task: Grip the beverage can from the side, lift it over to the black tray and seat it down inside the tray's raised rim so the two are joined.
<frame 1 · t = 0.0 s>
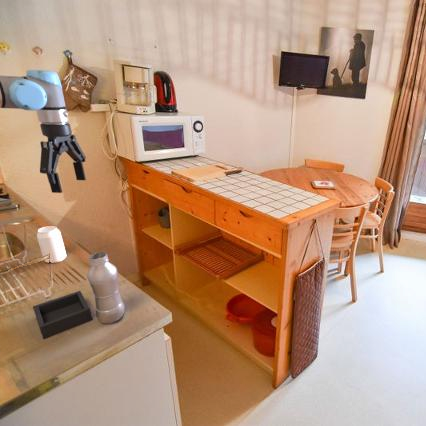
hand: (70, 185, 109), 25 cm above the countertop, tool pointing down, fingers open, 13 cm apart
plastic bottle: (112, 318, 88), on the countertop
beverage can: (56, 260, 111), on the countertop
black tray: (64, 318, 86), on the countertop
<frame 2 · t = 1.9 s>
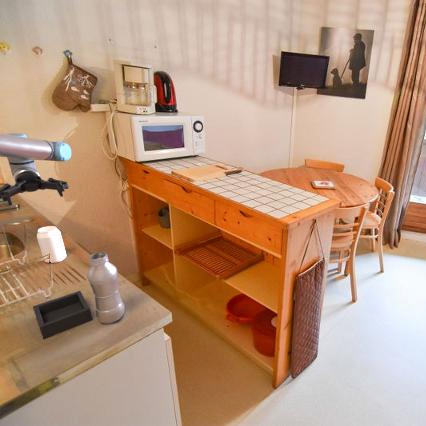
hand: (36, 197, 108), 21 cm above the countertop, tool horizontal, fingers open, 13 cm apart
nothing on the countertop moved.
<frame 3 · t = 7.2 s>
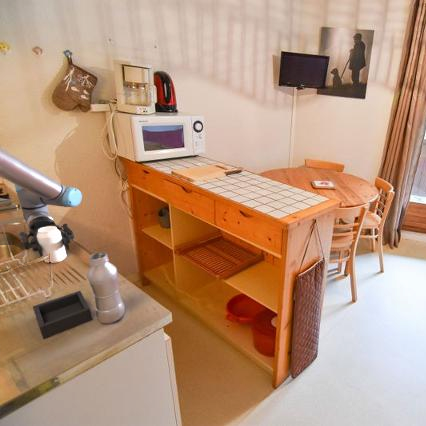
hand: (54, 249, 105), 7 cm above the countertop, tool horizontal, fingers closed on beverage can, 6 cm apart
beverage can: (56, 260, 111), on the countertop, touching gripper
everything else where it was.
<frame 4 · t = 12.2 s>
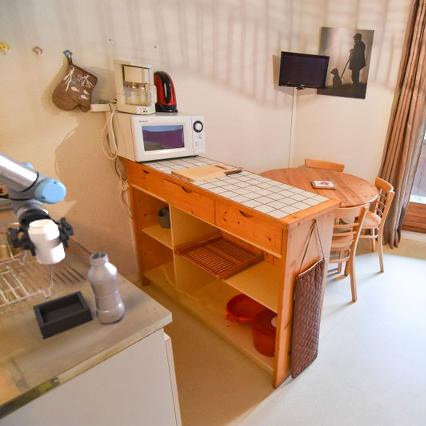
hand: (50, 247, 86), 18 cm above the countertop, tool horizontal, fingers closed on beverage can, 6 cm apart
beverage can: (52, 261, 91), point 11 cm above the countertop, touching gripper
everything else where it was.
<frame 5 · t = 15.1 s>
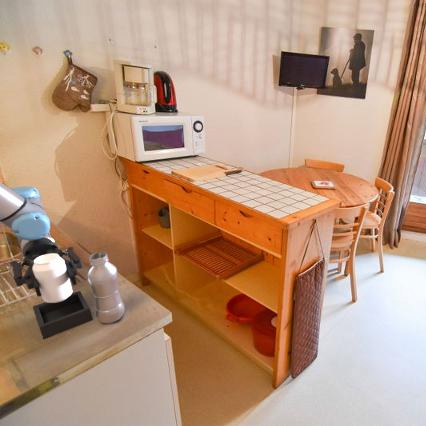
hand: (56, 285, 78), 14 cm above the countertop, tool horizontal, fingers closed on beverage can, 6 cm apart
beverage can: (59, 298, 83), point 7 cm above the countertop, touching gripper
everything else where it was.
when the fingers open (7 cm above the countertop, at t = 17.2 s): beverage can stays where it is, resting on black tray.
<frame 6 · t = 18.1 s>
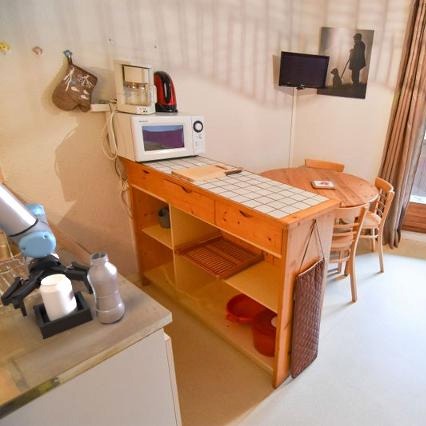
hand: (59, 300, 81), 8 cm above the countertop, tool horizontal, fingers open, 13 cm apart
beverage can: (64, 316, 86), point 1 cm above the countertop, touching black tray
everything else where it was.
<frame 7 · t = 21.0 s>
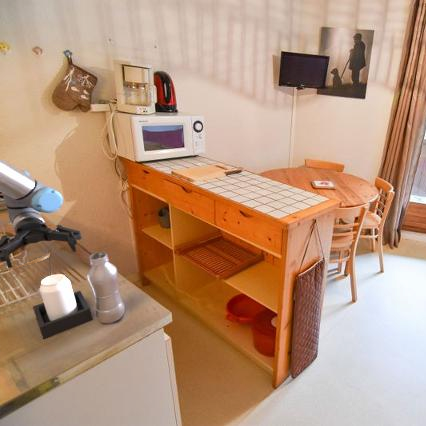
hand: (43, 255, 86), 16 cm above the countertop, tool horizontal, fingers open, 13 cm apart
nothing on the countertop moved.
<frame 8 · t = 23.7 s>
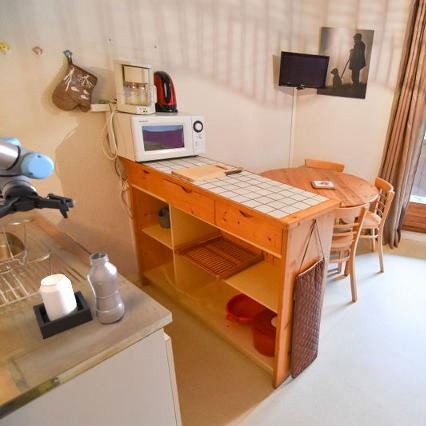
hand: (32, 220, 82), 26 cm above the countertop, tool horizontal, fingers open, 13 cm apart
nothing on the countertop moved.
at the end: beverage can 0.1 cm off-centre in the black tray, point 0.6 cm above the black tray's base; beverage can tilted 0°; the gripper is holding nothing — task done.
